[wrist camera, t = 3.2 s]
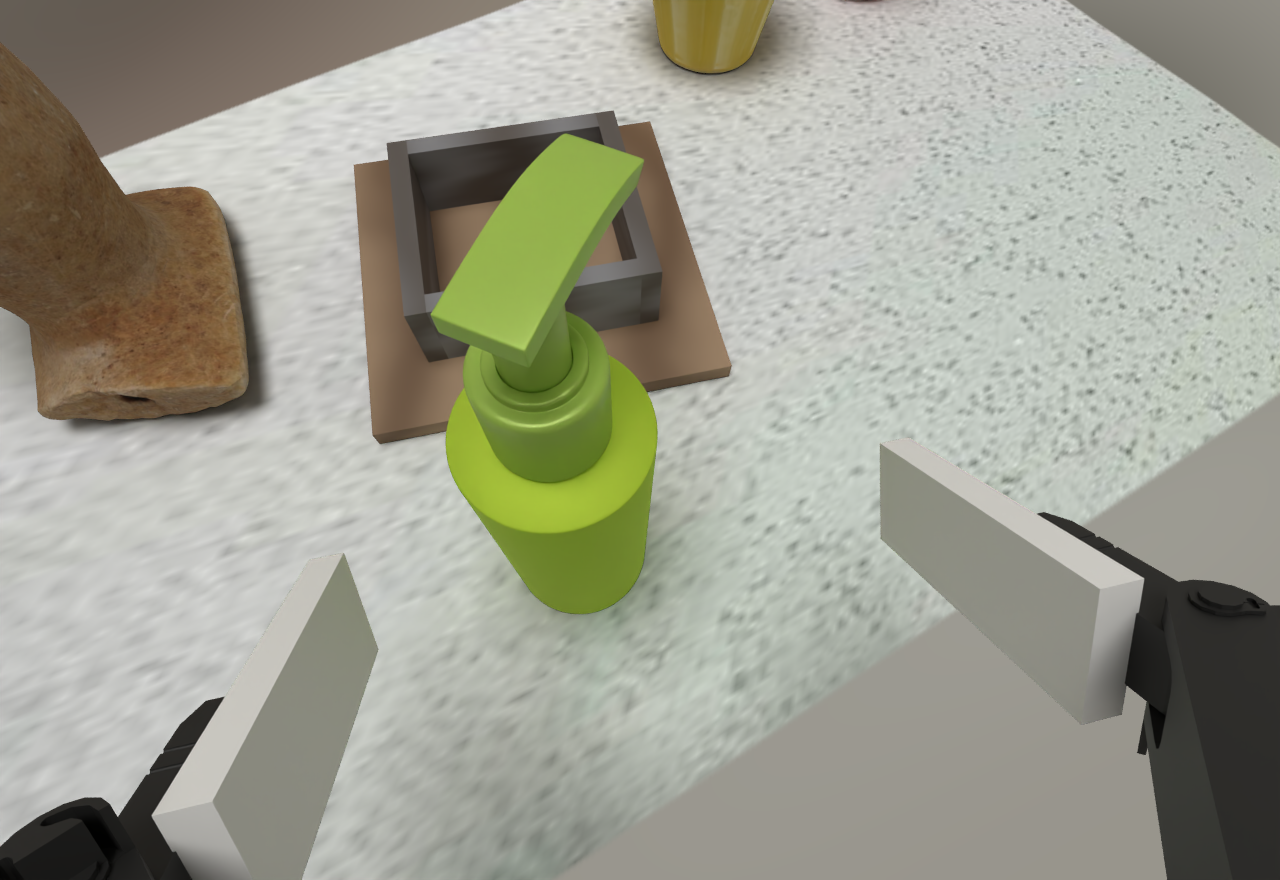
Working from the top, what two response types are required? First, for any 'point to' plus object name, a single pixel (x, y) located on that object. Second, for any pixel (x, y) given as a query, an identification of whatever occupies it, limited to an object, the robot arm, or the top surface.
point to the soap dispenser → (550, 387)
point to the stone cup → (110, 273)
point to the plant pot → (710, 31)
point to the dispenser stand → (451, 222)
